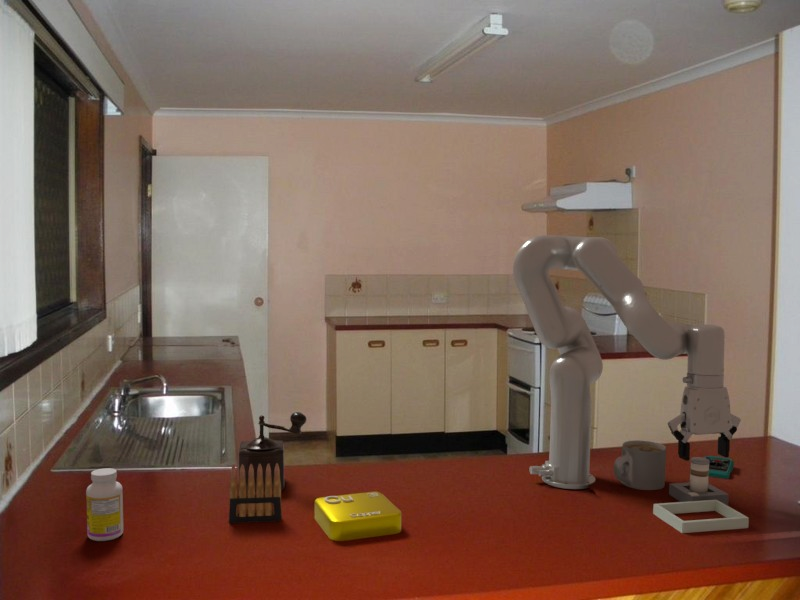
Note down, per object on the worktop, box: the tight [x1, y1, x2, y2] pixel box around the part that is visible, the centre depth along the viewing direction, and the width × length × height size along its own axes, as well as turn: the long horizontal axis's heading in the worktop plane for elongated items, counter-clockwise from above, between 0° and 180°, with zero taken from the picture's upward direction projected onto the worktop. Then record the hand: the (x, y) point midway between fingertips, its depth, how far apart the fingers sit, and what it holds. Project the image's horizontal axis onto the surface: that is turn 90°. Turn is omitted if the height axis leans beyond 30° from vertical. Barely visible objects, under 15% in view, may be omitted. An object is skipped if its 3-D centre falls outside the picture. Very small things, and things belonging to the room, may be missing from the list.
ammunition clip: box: [228, 463, 283, 524], centre depth 168 cm, size 11×2×12 cm, turn 98°
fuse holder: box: [668, 481, 730, 506], centre depth 182 cm, size 9×9×4 cm
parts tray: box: [652, 500, 750, 534], centre depth 170 cm, size 15×11×3 cm
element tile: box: [314, 491, 403, 542], centre depth 168 cm, size 15×15×5 cm
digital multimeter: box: [703, 455, 735, 480], centre depth 206 cm, size 7×15×3 cm, turn 153°
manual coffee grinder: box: [238, 411, 307, 493], centre depth 190 cm, size 16×11×18 cm
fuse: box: [689, 456, 710, 493], centre depth 182 cm, size 4×4×9 cm
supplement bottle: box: [85, 467, 124, 542], centre depth 159 cm, size 7×7×13 cm
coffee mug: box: [613, 439, 667, 491], centre depth 193 cm, size 13×10×10 cm
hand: (703, 457), depth 181 cm, fingers open, 9 cm apart
